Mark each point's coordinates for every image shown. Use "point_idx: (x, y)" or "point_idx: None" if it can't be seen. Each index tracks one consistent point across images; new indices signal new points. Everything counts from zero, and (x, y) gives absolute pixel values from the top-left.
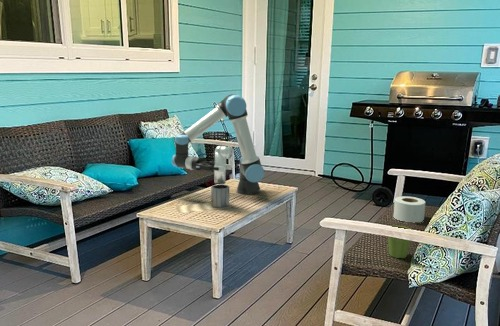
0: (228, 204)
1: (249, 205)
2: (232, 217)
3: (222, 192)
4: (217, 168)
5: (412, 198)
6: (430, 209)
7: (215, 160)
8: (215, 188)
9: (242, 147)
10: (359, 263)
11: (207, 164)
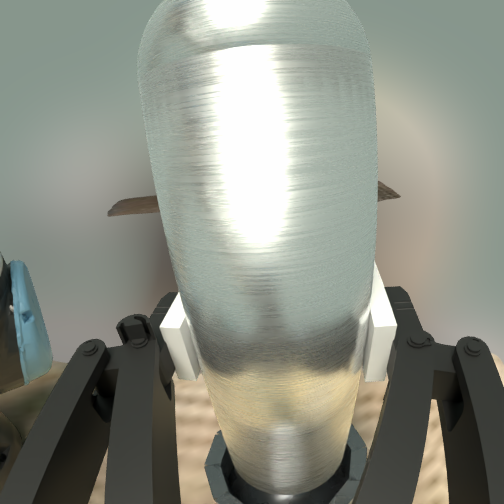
0: None
1: (180, 413)
2: (381, 391)
3: None
4: (399, 292)
5: None
6: (133, 198)
7: (374, 237)
8: (360, 458)
9: None
10: (392, 193)
11: (374, 498)
